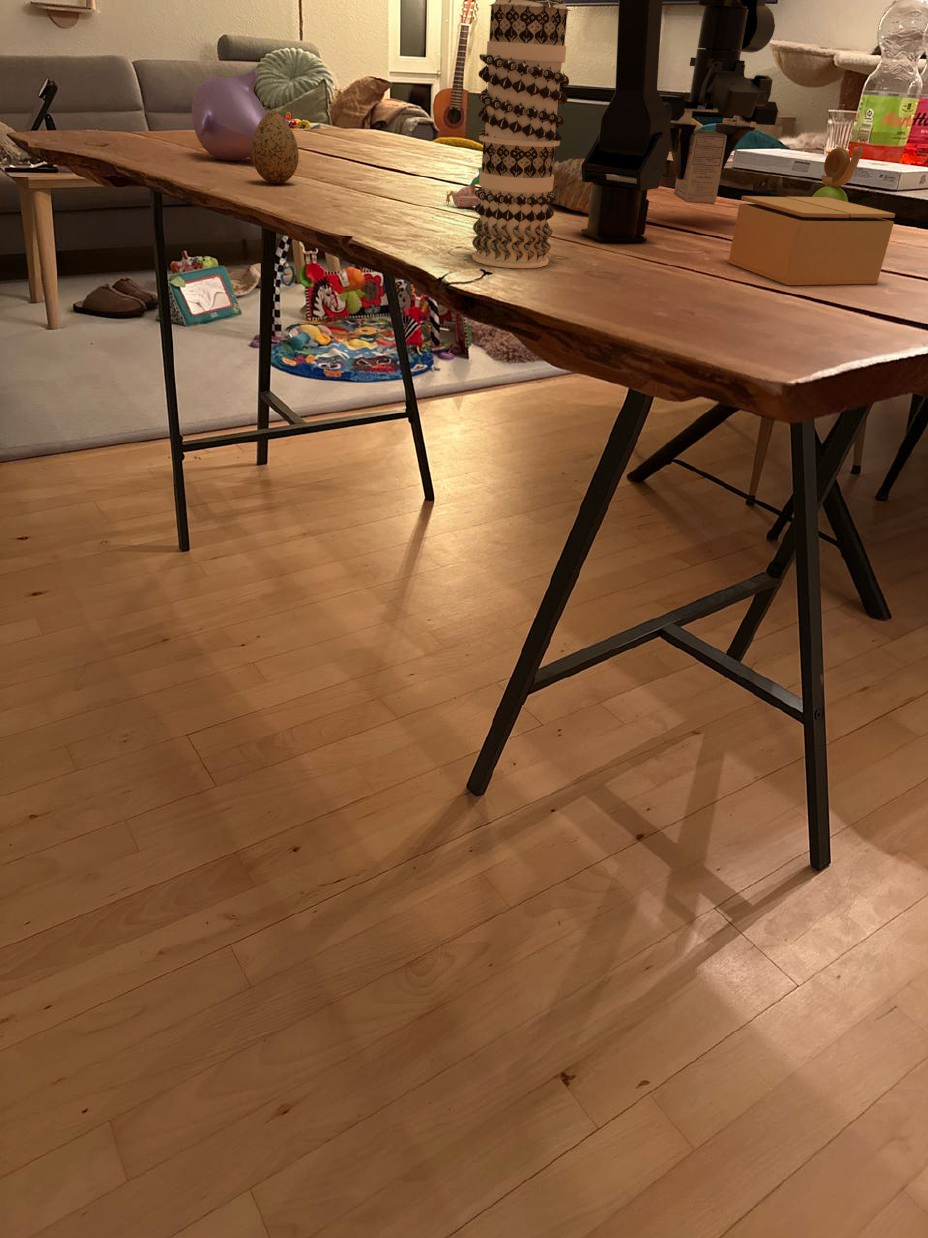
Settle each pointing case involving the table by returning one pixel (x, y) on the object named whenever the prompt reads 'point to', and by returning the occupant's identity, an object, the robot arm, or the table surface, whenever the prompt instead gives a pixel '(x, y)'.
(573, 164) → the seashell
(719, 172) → the medicine box
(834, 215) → the flap
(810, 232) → the carton
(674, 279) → the table surface
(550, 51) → the bracelet display stand
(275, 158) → the decorative egg
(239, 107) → the toy whale
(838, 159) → the snail figurine
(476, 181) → the pink radish
